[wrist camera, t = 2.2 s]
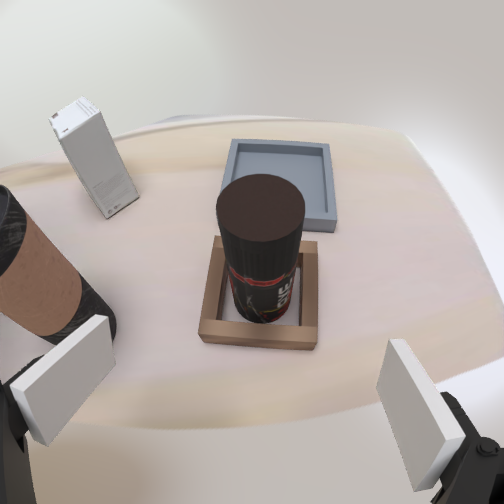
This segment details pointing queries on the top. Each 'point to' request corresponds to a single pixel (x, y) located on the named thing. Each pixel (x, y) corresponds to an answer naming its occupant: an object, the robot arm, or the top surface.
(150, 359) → the top surface
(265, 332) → the frame
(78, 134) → the skincare box
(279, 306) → the deodorant
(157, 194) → the top surface
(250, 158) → the slate tray
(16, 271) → the travel mug
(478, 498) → the robot arm
